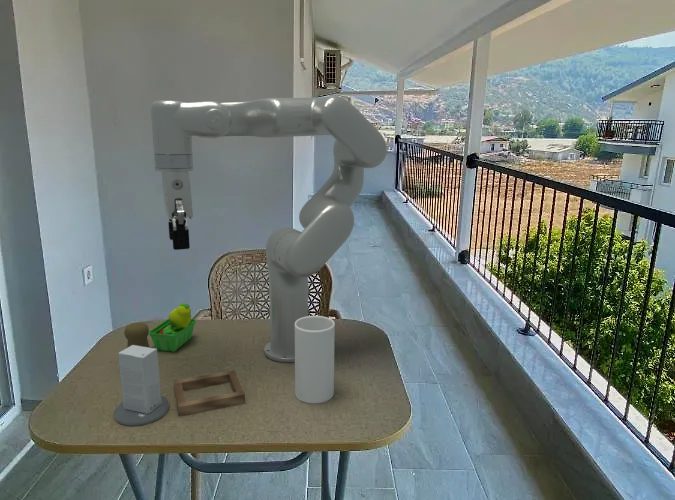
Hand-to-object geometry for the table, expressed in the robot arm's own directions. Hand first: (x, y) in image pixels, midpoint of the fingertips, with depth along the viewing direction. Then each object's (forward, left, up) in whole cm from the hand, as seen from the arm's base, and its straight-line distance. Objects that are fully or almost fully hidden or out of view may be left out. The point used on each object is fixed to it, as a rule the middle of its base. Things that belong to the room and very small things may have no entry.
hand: (179, 243), depth 104 cm
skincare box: (+10, +13, -30) cm, 34 cm away
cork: (+10, -6, -31) cm, 33 cm away
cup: (-24, +19, -31) cm, 43 cm away
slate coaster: (+10, +13, -30) cm, 34 cm away
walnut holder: (-3, +12, -30) cm, 33 cm away
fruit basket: (+1, -17, -31) cm, 35 cm away
